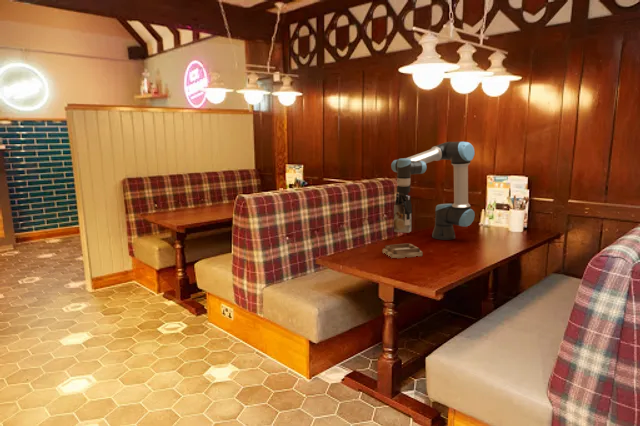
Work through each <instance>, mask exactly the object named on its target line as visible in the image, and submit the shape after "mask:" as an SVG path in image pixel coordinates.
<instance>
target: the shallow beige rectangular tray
mask: <svg viewBox="0 0 640 426" xmlns="http://www.w3.org/2000/svg"><path fill="white" fill-rule="evenodd" d="M384 247H385V248H384ZM384 247H383V248H382V254H384V253H385V254H386V255H385V254H384V255H385V256H387V255H388V256H387V257H389V256H390V257H391V258H390V257H389V258H390V259H392V258H397V259H405V257H407V258H416V256H418V257H423V253H424V252H423V251H422V250H421V248H420V247H417V246H416V245H414V244H412V243H410V242H408V243H395V244H385V245H384Z"/></svg>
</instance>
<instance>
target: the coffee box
mask: <svg viewBox="0 0 640 426" xmlns="http://www.w3.org/2000/svg"><path fill="white" fill-rule="evenodd" d="M411 207H413V205H412V203H411ZM405 213H406V212H405V208H404V204H403V203H402V204H398V203H397V204H395V203H394V204H393V232H395V233H406V234H409V233H410V232H412V213H411V214H410V225H405Z"/></svg>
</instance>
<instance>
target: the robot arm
mask: <svg viewBox="0 0 640 426" xmlns="http://www.w3.org/2000/svg"><path fill="white" fill-rule="evenodd" d="M475 155H476V154H475V147H474V146H473V145H472V143H470V142H468V141H445V142H443V143H440V144H436V145H434V146H432V147H431V148H430V149H428V150H425V151H422V152H420V153H419V152H418V153H417V154H414V155H411V156H408V157H404V158H398V159H394V160H393V161H392V162H391V164H390V168H391V170H392V171H393V172H394V173H396V176H397V177H396V185H397V186H396V195H395V203H394V205H395V204H397V203H398V204H404V208H405V212H406V213H405V225H410V214H411V215H412V214H413V208H412V207H413V206H412V207H411V204H412V202H411V201H412V197H411V195H409V193H410V192H411V176H412V175H422V174H424V173H425V172H426V171H427V169H428V168H427V166H428V165H427V164H428V163H432V162H434V161H436V162H438V161H442V160H443V161H445V160H446V161H450V164H451V165H452V167H453V203H440V204H437V205H436V206H435V212H434V217H435V218H434V219H435V220H434V228H433V230H432V233H431V234H432V235H431V238H432V239H436V240H441V241H442V240H443V241H445V240H446V241H448V240H449V241H450V240H451V241H452V240H454V239H456V233H455V230H454V229H455V228H454V226H458V227H463V228H464V227H466V228H467V227H468V226H469V227H470V225H472V223H473V222H474V220H475V216H476V215H475V211H474V210H473V209H472V208H471V204H470V203H469V165H470V164H471V161H472V160H473V159H474V157H475Z"/></svg>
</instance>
